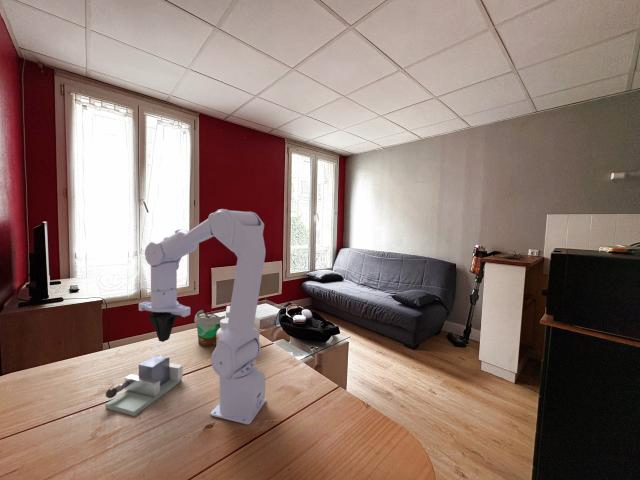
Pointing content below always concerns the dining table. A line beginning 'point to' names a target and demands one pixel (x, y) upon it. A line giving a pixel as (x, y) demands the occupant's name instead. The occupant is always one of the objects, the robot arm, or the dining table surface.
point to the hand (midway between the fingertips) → (164, 339)
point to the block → (155, 368)
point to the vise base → (137, 401)
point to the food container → (207, 328)
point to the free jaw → (137, 386)
